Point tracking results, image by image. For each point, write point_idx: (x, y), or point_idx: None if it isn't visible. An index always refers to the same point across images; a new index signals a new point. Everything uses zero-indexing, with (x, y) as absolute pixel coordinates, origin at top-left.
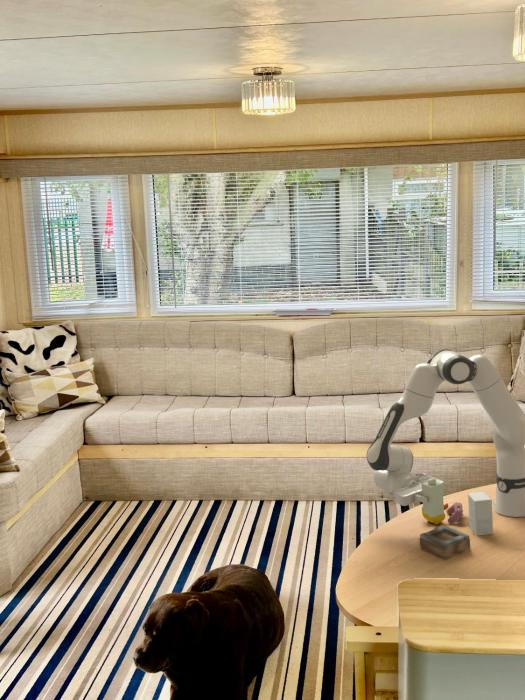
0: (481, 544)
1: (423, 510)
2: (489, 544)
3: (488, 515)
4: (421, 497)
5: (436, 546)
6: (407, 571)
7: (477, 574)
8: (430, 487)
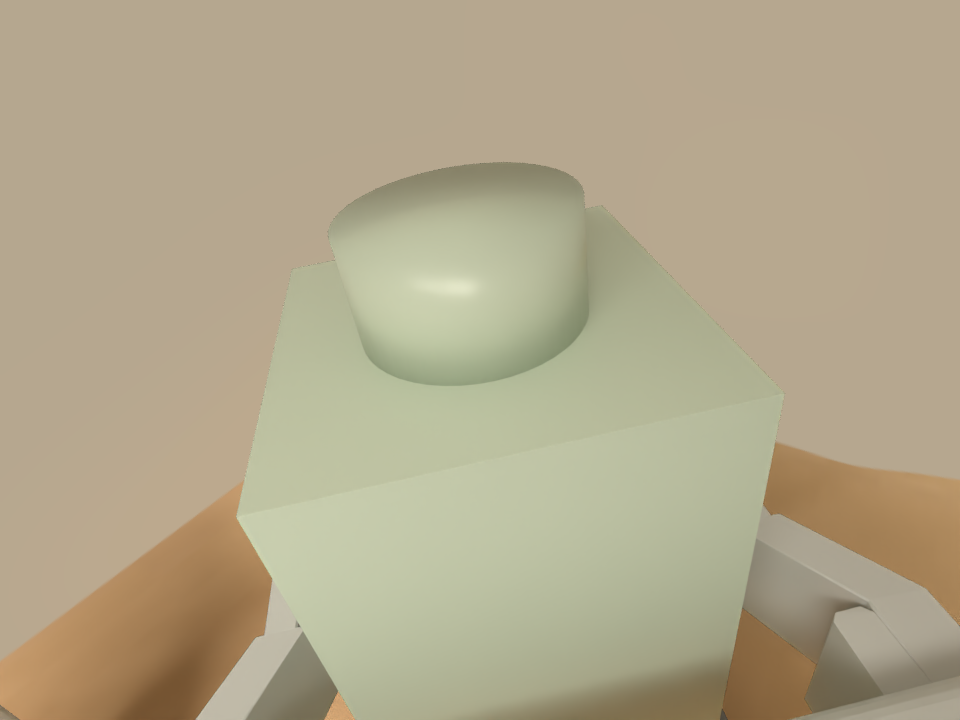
0: None
1: None
2: (246, 632)
3: None
4: (792, 524)
5: None
6: (938, 545)
7: None
8: (614, 228)
